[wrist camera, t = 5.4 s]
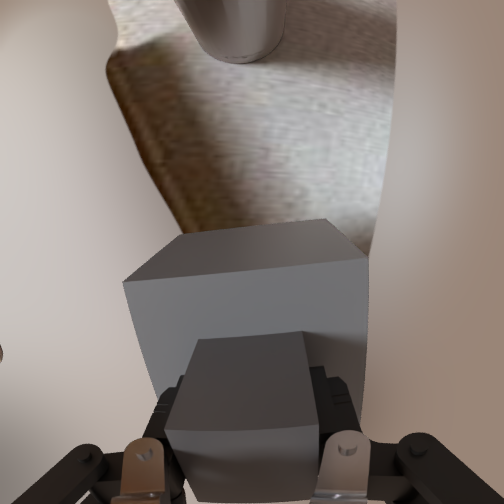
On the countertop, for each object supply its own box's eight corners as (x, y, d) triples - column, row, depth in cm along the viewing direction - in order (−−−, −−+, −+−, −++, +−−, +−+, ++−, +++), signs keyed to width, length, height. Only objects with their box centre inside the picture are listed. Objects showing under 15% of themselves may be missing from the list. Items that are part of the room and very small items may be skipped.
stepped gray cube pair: (179, 234, 20) (50, 346, 7) (325, 218, 19) (430, 319, 6) (204, 358, 22) (153, 522, 9) (331, 347, 22) (379, 515, 8)
